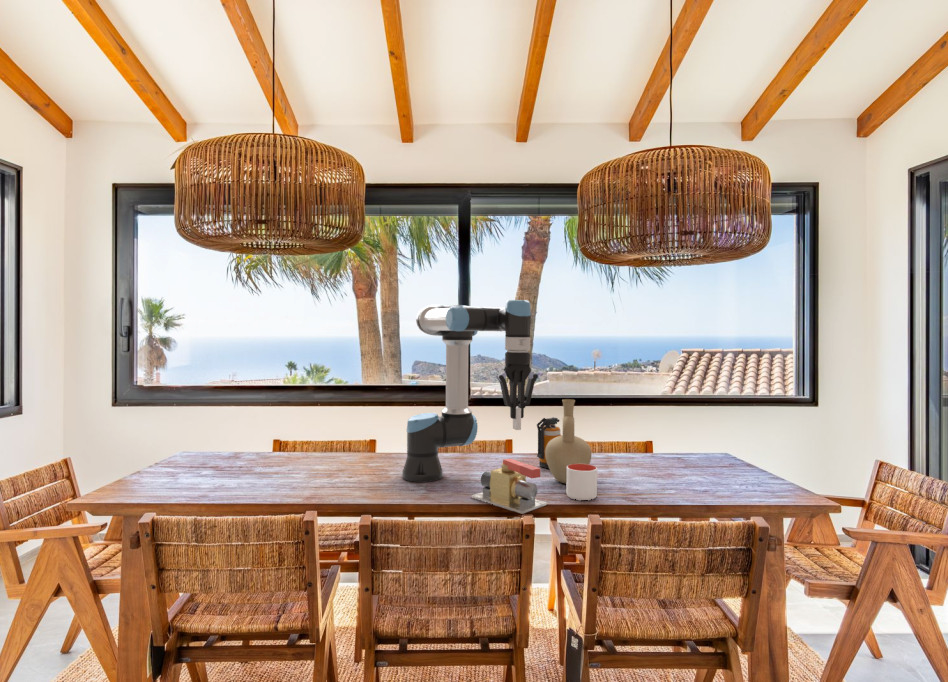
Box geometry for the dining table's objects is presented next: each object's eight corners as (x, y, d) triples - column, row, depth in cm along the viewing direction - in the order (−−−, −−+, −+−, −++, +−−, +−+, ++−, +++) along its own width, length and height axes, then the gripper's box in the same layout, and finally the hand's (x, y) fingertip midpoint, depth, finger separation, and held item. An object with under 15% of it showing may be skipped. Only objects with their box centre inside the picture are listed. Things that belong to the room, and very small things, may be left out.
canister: (566, 467, 222) (566, 417, 222) (545, 471, 216) (545, 420, 215) (551, 462, 230) (551, 415, 229) (530, 466, 223) (531, 417, 223)
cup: (592, 492, 188) (593, 463, 188) (600, 501, 178) (600, 471, 178) (563, 492, 188) (563, 463, 188) (569, 502, 178) (570, 471, 178)
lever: (498, 469, 179) (498, 458, 179) (509, 467, 181) (509, 457, 181) (530, 481, 164) (530, 470, 164) (541, 479, 167) (541, 468, 167)
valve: (471, 497, 182) (471, 467, 182) (495, 490, 190) (495, 461, 190) (522, 513, 166) (522, 481, 166) (546, 505, 175) (546, 473, 174)
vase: (592, 489, 192) (593, 403, 191) (544, 486, 195) (544, 402, 194) (590, 476, 208) (590, 397, 208) (545, 474, 211) (546, 396, 210)
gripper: (502, 352, 160) (501, 432, 161) (542, 351, 165) (541, 430, 166) (492, 350, 167) (492, 428, 168) (531, 350, 172) (530, 425, 173)
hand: (516, 429), depth 167 cm, fingers closed
